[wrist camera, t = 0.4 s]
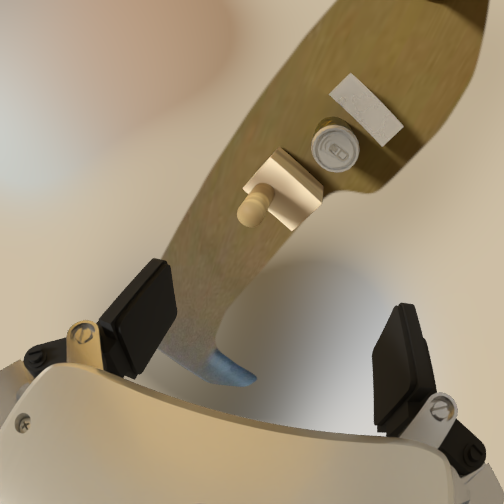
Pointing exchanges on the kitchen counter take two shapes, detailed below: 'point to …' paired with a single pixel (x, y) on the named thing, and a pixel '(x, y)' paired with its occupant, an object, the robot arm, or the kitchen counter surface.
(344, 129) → the beer can
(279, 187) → the wooden block with peg
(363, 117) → the grey box
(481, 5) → the kitchen counter surface
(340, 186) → the kitchen counter surface
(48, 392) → the robot arm
